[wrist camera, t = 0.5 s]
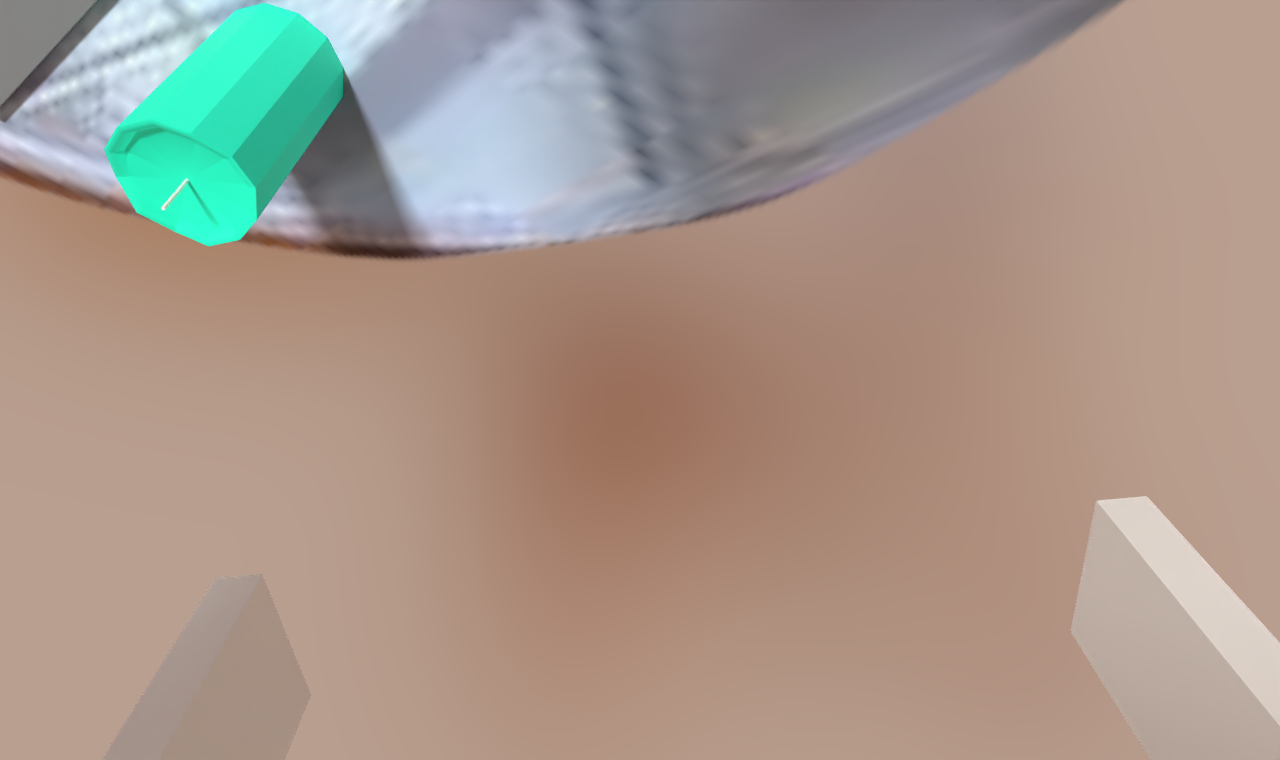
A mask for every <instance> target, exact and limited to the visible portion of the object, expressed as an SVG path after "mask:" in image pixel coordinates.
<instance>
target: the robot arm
mask: <svg viewBox="0 0 1280 760" xmlns="http://www.w3.org/2000/svg"><path fill="white" fill-rule="evenodd" d="M1071 633H1072V635H1073V636H1074V638H1075V639H1076V641H1077V643H1078V644H1079V646H1080V648H1081V649H1082V651H1083V652H1084V654H1085V656H1086V657H1087V659H1088V660H1089V662H1090V664H1091V665H1092V667H1093V668H1094V670H1095V671H1096V673H1097V675H1098V676H1099V678H1100V679H1101V681H1102V683H1103V684H1104V686H1105V687H1106V689H1107V691H1108V692H1109V694H1110V695H1111V697H1112V699H1113V700H1114V702H1115V703H1116V705H1117V706H1118V708H1119V710H1120V711H1121V713H1122V714H1123V716H1124V718H1125V719H1126V721H1127V722H1128V724H1129V725H1130V727H1131V729H1132V730H1133V732H1134V733H1135V735H1136V737H1137V738H1138V740H1139V742H1140V743H1141V745H1142V746H1143V748H1144V749H1145V751H1146V753H1147V754H1148V756H1149V757H1150V759H1151V760H1280V643H1279V642H1278V641H1277V639H1276V638H1275V637H1274V636H1273V635H1272V634H1271V633H1270V632H1269V631H1268V629H1267V628H1266V627H1265V626H1264V625H1263V624H1262V623H1261V622H1260V621H1259V620H1258V618H1257V617H1256V616H1255V615H1254V614H1253V613H1252V612H1251V611H1250V610H1249V609H1248V607H1247V606H1246V605H1245V604H1244V603H1243V602H1242V601H1241V600H1240V599H1239V598H1238V596H1237V595H1235V593H1234V592H1233V591H1232V590H1231V589H1230V588H1229V587H1228V585H1227V584H1226V583H1225V582H1224V581H1223V580H1222V579H1221V578H1220V577H1219V576H1218V575H1217V573H1216V572H1215V571H1214V570H1213V569H1212V568H1211V567H1210V566H1209V564H1208V563H1207V562H1206V561H1205V560H1204V559H1203V558H1202V557H1201V556H1200V555H1199V554H1198V552H1197V551H1196V550H1195V549H1194V548H1193V547H1192V546H1191V545H1190V544H1189V542H1188V541H1186V539H1185V538H1184V537H1183V536H1182V535H1181V534H1180V533H1179V532H1178V530H1177V529H1176V528H1175V527H1174V526H1173V525H1172V524H1171V523H1170V522H1169V521H1168V519H1167V518H1166V517H1165V516H1164V515H1163V514H1162V513H1161V512H1160V511H1159V509H1158V508H1157V507H1156V506H1155V505H1154V504H1153V503H1152V502H1151V501H1150V500H1149V498H1148V497H1147V496H1145V497H1133V498H1123V499H1111V500H1100V501H1096V505H1095V510H1094V515H1093V520H1092V525H1091V530H1090V535H1089V540H1088V545H1087V550H1086V555H1085V561H1084V566H1083V571H1082V576H1081V581H1080V587H1079V591H1078V597H1077V601H1076V606H1075V612H1074V617H1073V622H1072V627H1071ZM310 696H311V694H310V691H309V689H308V686H307V684H306V681H305V679H304V676H303V674H302V671H301V669H300V666H299V664H298V661H297V659H296V657H295V654H294V652H293V649H292V647H291V644H290V642H289V640H288V637H287V634H286V632H285V629H284V627H283V625H282V622H281V620H280V617H279V615H278V613H277V610H276V607H275V605H274V603H273V600H272V597H271V595H270V593H269V590H268V588H267V585H266V583H265V580H264V578H263V576H262V574H259V575H248V576H237V577H226V578H215V579H214V581H213V583H212V584H211V586H210V587H209V589H208V591H207V592H206V594H205V596H204V597H203V599H202V600H201V602H200V603H199V605H198V607H197V608H196V610H195V611H194V613H193V615H192V616H191V618H190V619H189V621H188V623H187V624H186V626H185V628H184V629H183V631H182V632H181V634H180V635H179V637H178V639H177V640H176V642H175V644H174V645H173V647H172V648H171V650H170V652H169V653H168V655H167V656H166V658H165V659H164V661H163V663H162V664H161V666H160V668H159V669H158V671H157V672H156V674H155V676H154V677H153V679H152V680H151V682H150V684H149V685H148V687H147V688H146V690H145V692H144V693H143V695H142V696H141V698H140V700H139V701H138V703H137V704H136V706H135V708H134V709H133V711H132V713H131V714H130V716H129V717H128V719H127V721H126V722H125V724H124V725H123V727H122V728H121V730H120V732H119V733H118V735H117V736H116V738H115V740H114V741H113V743H112V744H111V746H110V748H109V749H108V751H107V753H106V754H105V756H104V758H103V759H102V760H285V758H286V755H287V753H288V751H289V748H290V746H291V743H292V740H293V738H294V736H295V733H296V731H297V728H298V726H299V723H300V721H301V718H302V716H303V713H304V711H305V708H306V706H307V704H308V701H309V699H310Z"/></svg>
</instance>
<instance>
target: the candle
mask: <svg viewBox="0 0 1280 760" xmlns="http://www.w3.org/2000/svg"><path fill="white" fill-rule="evenodd" d="M342 98H343V67H342V65H341V63H340V61H339V59H338V57H337V55H336V53H335V51H334V50H333V48H332V46H331V44H330V42H329V40H328V38H327V37H326V36H325V35H323V34H322V33H321V32H320V31H319V30H318V29H316V28H315V27H314V26H313V25H312V24H310V23H309V22H308V21H307V20H306V19H304V18H303V17H302V16H301V15H300V14H298V13H296V12H292V11H289V10H286V9H283V8H279V7H276V6H273V5H270V4H266V3H262V4H258V5H254V6H250V7H246V8H242V9H238V10H236V11H235V12H234V13H233V14H232V15H231V16H230V17H229V18H228V19H226V20H225V21H224V22H223V23H222V24H221V25H220V26H219V27H218V28H217V29H216V30H215V31H214V32H213V33H212V34H211V35H210V36H209V37H208V38H207V39H206V40H205V41H204V42H203V43H202V44H201V45H200V46H199V47H198V48H197V49H196V50H195V51H194V52H193V53H192V54H191V55H190V56H189V57H188V58H187V59H186V60H185V61H184V62H183V63H182V64H181V65H180V66H179V67H178V68H177V69H176V70H175V71H174V72H173V73H172V74H171V75H170V76H168V77H167V78H166V79H165V80H164V81H163V82H162V83H161V84H160V85H159V86H158V87H157V88H156V89H155V90H154V91H153V92H152V93H151V94H150V95H149V96H148V97H147V98H146V99H145V100H144V101H143V102H142V103H141V104H140V105H139V106H138V107H137V108H136V109H135V110H134V111H133V112H132V113H131V114H130V115H129V116H128V117H127V118H126V119H125V120H124V121H123V122H122V123H121V124H120V125H119V126H118V127H117V128H116V130H115V131H114V133H113V135H112V137H111V138H110V140H109V142H108V144H107V145H106V147H105V149H104V150H105V153H106V155H107V157H108V160H109V162H110V164H111V166H112V169H113V171H114V173H115V176H116V178H117V179H118V181H119V183H120V184H121V186H122V188H123V190H124V191H125V193H126V195H127V196H128V198H129V200H130V202H131V203H132V205H133V207H134V208H135V210H136V212H137V213H139V214H141V215H143V216H145V217H147V218H149V219H151V220H153V221H155V222H157V223H159V224H161V225H163V226H165V227H167V228H169V229H171V230H173V231H175V232H177V233H179V234H181V235H184V236H186V237H188V238H191V239H193V240H195V241H197V242H200V243H202V244H205V245H207V246H213V245H217V244H222V243H227V242H232V241H237V240H240V239H241V238H242V237H243V236H244V234H245V233H246V232H247V231H248V230H249V229H250V227H251V226H252V225H253V224H254V223H255V221H256V220H257V219H258V217H259V216H260V215H261V213H262V212H263V210H264V209H265V207H266V206H267V205H268V203H269V202H270V200H271V199H272V198H273V196H274V195H275V193H276V192H277V190H278V189H279V188H280V186H281V185H282V183H283V182H284V180H285V179H286V178H287V176H288V175H289V173H290V172H291V170H292V169H293V168H294V166H295V165H296V163H297V162H298V160H299V159H300V158H301V156H302V155H303V153H304V152H305V150H306V149H307V148H308V146H309V145H310V143H311V142H312V140H313V139H314V138H315V136H316V135H317V133H318V132H319V130H320V129H321V128H322V126H323V125H324V123H325V122H326V120H327V119H328V118H329V116H330V115H331V113H332V112H333V110H334V109H335V108H336V106H337V105H338V103H339V102H340V100H341V99H342Z"/></svg>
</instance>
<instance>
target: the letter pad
mask: <svg viewBox="0 0 1280 760" xmlns="http://www.w3.org/2000/svg"><path fill="white" fill-rule="evenodd" d="M97 1H98V0H0V108H1V106H2V105H3V104H4V103H5V102H6V101H7V100H8V99H9V98H10V97H11V95H12V94H13V93H14V92H15V91H16V90H17V89H18V88H19V87H20V86H21V85H22V83H23V82H24V81H25V80H26V79H27V78H28V77H29V76H30V75H31V74H32V72H33V71H34V70H35V69H36V68H37V67H38V66H39V65H40V64H41V63H42V62H43V60H44V59H45V58H46V57H47V56H48V55H49V54H50V53H51V52H52V51H53V49H54V48H55V47H56V46H57V45H58V44H59V43H60V42H61V41H62V40H63V39H64V37H65V36H66V35H67V34H68V33H69V32H70V31H71V30H72V29H73V28H74V26H75V25H76V24H77V23H78V22H79V21H80V20H81V19H82V18H83V17H84V16H85V14H86V13H87V12H88V11H89V10H90V9H91V8H92V7H93V6H94V5H95V3H96V2H97Z"/></svg>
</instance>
